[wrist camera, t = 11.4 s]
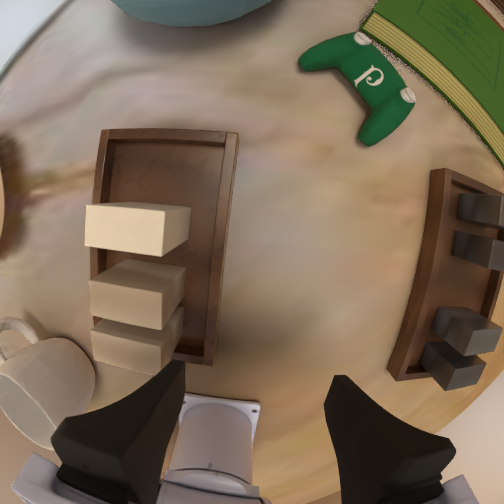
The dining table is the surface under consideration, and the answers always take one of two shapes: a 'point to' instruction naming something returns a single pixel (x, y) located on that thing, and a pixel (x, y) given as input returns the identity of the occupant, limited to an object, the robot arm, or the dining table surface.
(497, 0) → the book
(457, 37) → the hardcover book
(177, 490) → the robot arm
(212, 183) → the brown wooden tray
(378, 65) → the gaming controller
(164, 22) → the vase
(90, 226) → the cream rectangular block
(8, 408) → the mug
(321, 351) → the dining table surface
